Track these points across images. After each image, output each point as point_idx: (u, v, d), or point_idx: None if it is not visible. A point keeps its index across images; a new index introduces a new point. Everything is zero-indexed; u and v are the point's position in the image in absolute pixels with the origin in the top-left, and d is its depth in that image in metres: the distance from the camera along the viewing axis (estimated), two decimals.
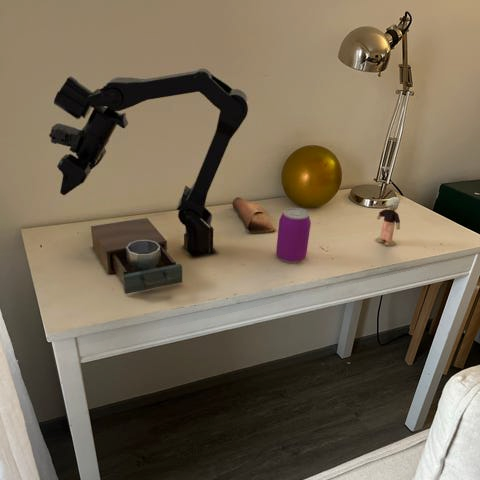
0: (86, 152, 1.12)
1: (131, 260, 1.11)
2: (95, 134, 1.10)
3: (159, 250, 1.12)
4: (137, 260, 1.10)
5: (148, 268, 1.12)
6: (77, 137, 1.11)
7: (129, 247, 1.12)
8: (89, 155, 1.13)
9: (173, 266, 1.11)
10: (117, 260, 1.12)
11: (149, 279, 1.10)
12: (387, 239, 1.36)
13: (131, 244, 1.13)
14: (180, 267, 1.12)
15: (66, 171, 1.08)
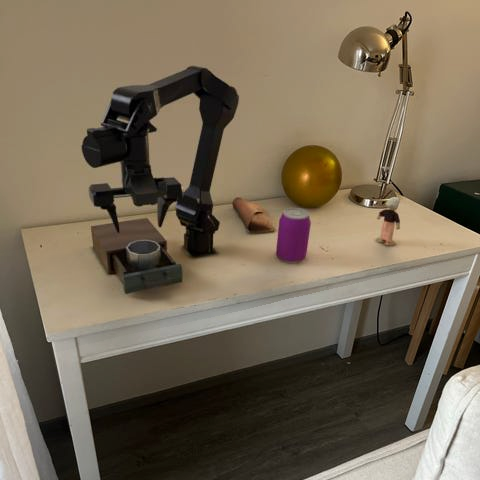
0: None
1: (131, 260, 1.11)
2: (144, 158, 0.99)
3: (159, 250, 1.12)
4: (137, 260, 1.10)
5: (148, 268, 1.12)
6: (151, 173, 1.01)
7: (129, 247, 1.12)
8: None
9: (173, 266, 1.11)
10: (117, 260, 1.12)
11: (149, 279, 1.10)
12: (387, 239, 1.36)
13: (131, 244, 1.13)
14: (180, 267, 1.12)
15: None
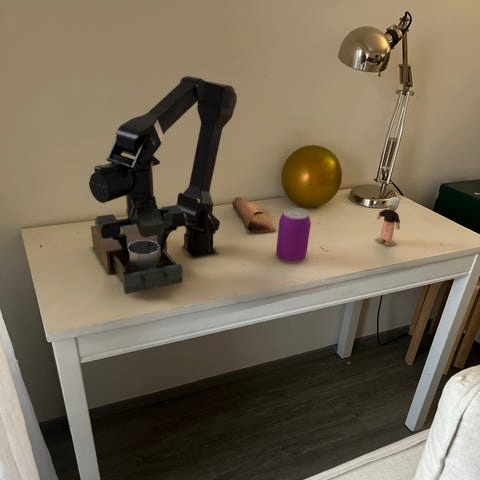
0: None
1: (131, 260, 1.11)
2: (149, 190, 1.03)
3: (159, 250, 1.12)
4: (137, 260, 1.10)
5: (148, 268, 1.12)
6: None
7: (129, 247, 1.12)
8: None
9: (173, 266, 1.11)
10: (117, 260, 1.12)
11: (149, 279, 1.10)
12: (387, 239, 1.36)
13: (131, 244, 1.13)
14: (180, 267, 1.12)
15: None
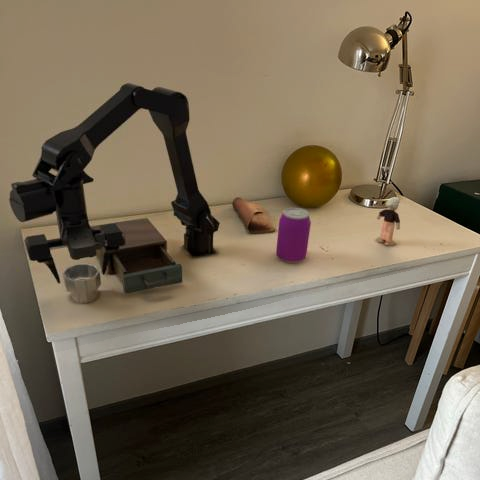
0: None
1: (67, 286, 1.04)
2: (79, 210, 0.95)
3: (98, 275, 1.06)
4: (73, 286, 1.03)
5: (86, 294, 1.06)
6: None
7: (66, 272, 1.06)
8: None
9: (173, 266, 1.11)
10: (117, 260, 1.12)
11: (149, 279, 1.10)
12: (387, 239, 1.36)
13: (69, 268, 1.07)
14: (180, 267, 1.12)
15: None
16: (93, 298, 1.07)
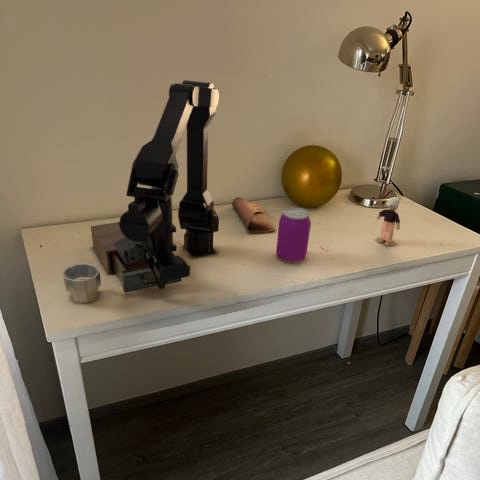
0: (164, 246, 0.99)
1: (67, 286, 1.04)
2: (171, 220, 0.98)
3: (98, 275, 1.06)
4: (73, 286, 1.03)
5: (86, 294, 1.06)
6: (149, 240, 0.97)
7: (66, 272, 1.06)
8: (168, 247, 0.99)
9: None
10: (116, 259, 1.13)
11: (149, 278, 1.10)
12: (387, 239, 1.36)
13: (69, 268, 1.07)
14: None
15: (171, 277, 0.96)
16: (93, 298, 1.07)
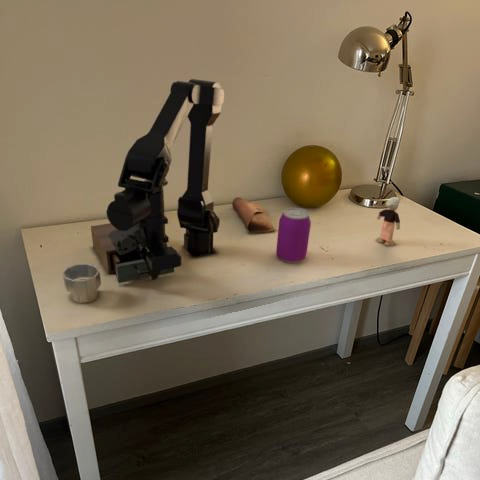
0: (156, 237, 1.02)
1: (67, 286, 1.04)
2: (162, 212, 1.00)
3: (98, 275, 1.06)
4: (73, 286, 1.03)
5: (86, 294, 1.06)
6: (141, 231, 1.00)
7: (66, 272, 1.06)
8: (160, 238, 1.03)
9: None
10: None
11: (142, 269, 1.13)
12: (387, 239, 1.36)
13: (69, 268, 1.07)
14: None
15: (163, 267, 0.99)
16: (93, 298, 1.07)
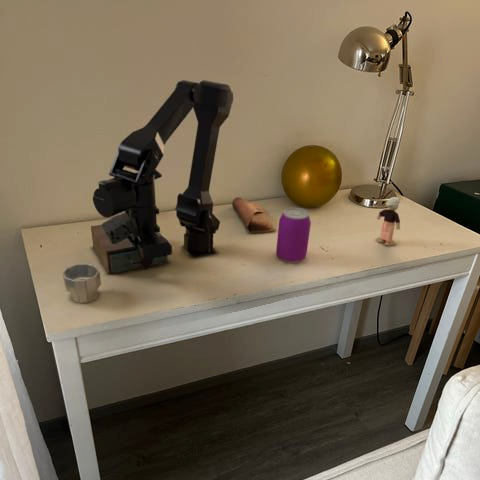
0: (148, 227, 1.06)
1: (67, 286, 1.04)
2: (151, 204, 1.04)
3: (98, 275, 1.06)
4: (73, 286, 1.03)
5: (86, 294, 1.06)
6: (133, 221, 1.04)
7: (66, 272, 1.06)
8: (152, 228, 1.06)
9: None
10: None
11: (135, 259, 1.17)
12: (387, 239, 1.36)
13: (69, 268, 1.07)
14: None
15: (154, 256, 1.02)
16: (93, 298, 1.07)
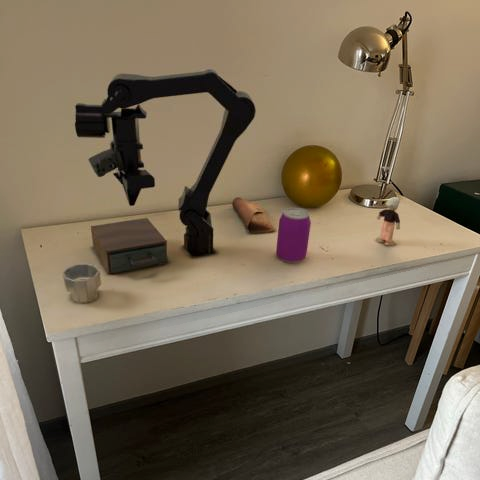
0: (132, 161, 1.12)
1: (67, 286, 1.04)
2: (125, 140, 1.09)
3: (98, 275, 1.06)
4: (73, 286, 1.03)
5: (86, 294, 1.06)
6: (118, 154, 1.10)
7: (66, 272, 1.06)
8: (136, 163, 1.13)
9: (158, 247, 1.18)
10: None
11: (135, 259, 1.17)
12: (387, 239, 1.36)
13: (69, 268, 1.07)
14: (164, 248, 1.19)
15: (138, 187, 1.09)
16: (93, 298, 1.07)
